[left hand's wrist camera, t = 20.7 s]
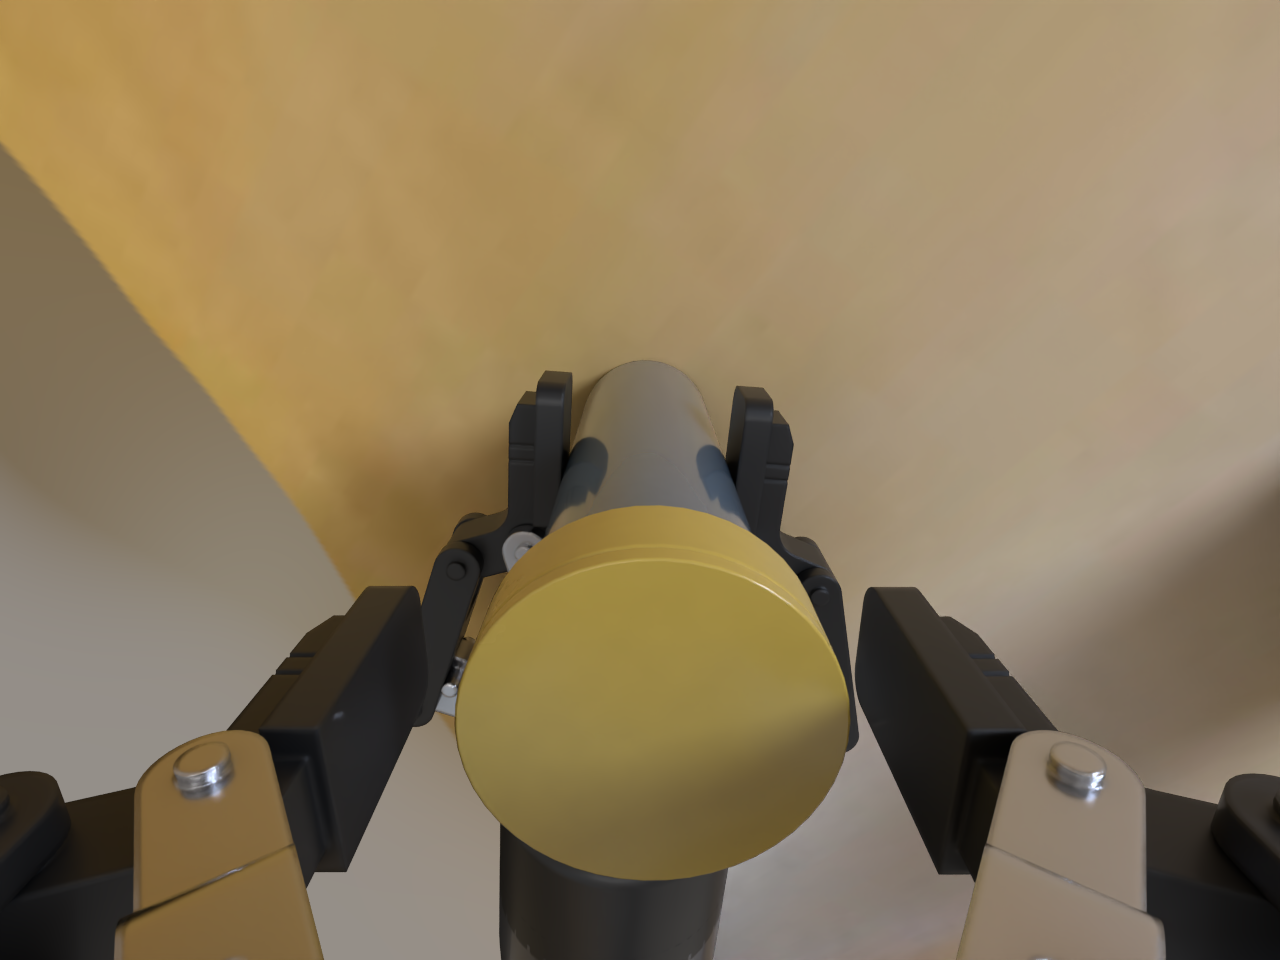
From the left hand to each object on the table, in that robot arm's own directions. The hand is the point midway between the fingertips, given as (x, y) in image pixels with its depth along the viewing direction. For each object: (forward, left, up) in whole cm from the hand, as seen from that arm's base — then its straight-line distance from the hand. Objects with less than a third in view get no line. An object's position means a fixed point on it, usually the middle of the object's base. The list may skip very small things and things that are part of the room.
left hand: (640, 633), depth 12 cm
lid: (0, 0, +2) cm, 2 cm away
